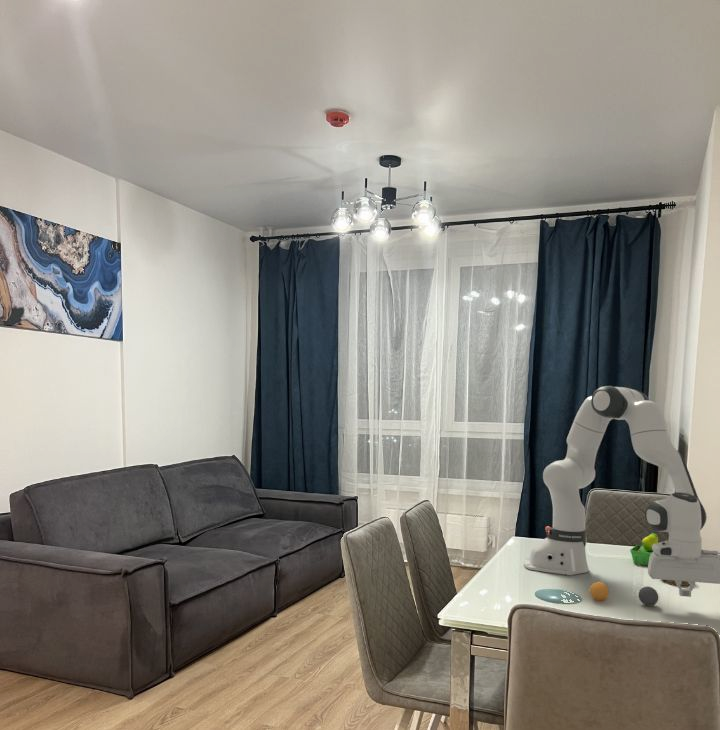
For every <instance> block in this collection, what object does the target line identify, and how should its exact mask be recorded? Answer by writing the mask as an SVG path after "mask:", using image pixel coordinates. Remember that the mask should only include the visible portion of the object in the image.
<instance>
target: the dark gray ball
mask: <svg viewBox="0 0 720 730" xmlns="http://www.w3.org/2000/svg"><path fill="white" fill-rule="evenodd" d="M658 593H659V592H657V590H656V589H655V588H653V587H651V586H643V587H641V588H640V589H639V592H638V599H639V601H640V602H641V603H642V604H643V605H644V606H647V607H652V606H655V605H656V604H657V603H658V601H659V594H658Z"/></svg>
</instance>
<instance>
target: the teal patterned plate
mask: <svg viewBox="0 0 720 730" xmlns="http://www.w3.org/2000/svg"><path fill="white" fill-rule="evenodd" d="M567 591H568V590H565V591H564V589H558V588H544V589H537V590H535V592H534V596H535V597H536V598H538V599H540V600H541V601H545V602H549V603H553V604H559V603H564V602H563V601H561V600H563V599H565V600H566V599H567V600H568V602H570V601H569V600H570V599H571V600H572V601H574V602H578V603H580V602H581V600H583V598H582V596H581V595H579V594H578V593H575V592H573V591H570V592H572V593H574V594H572V593H570V592H567ZM564 592H567V593H569V594H570V596H569V595H568V594H566V593H564ZM561 594H562V595H565V596H566V598H563V597H562V596H561ZM575 595H576V596H578V597H576V596H575ZM577 599H579V600H580V602H579V601H578V600H577Z"/></svg>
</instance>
